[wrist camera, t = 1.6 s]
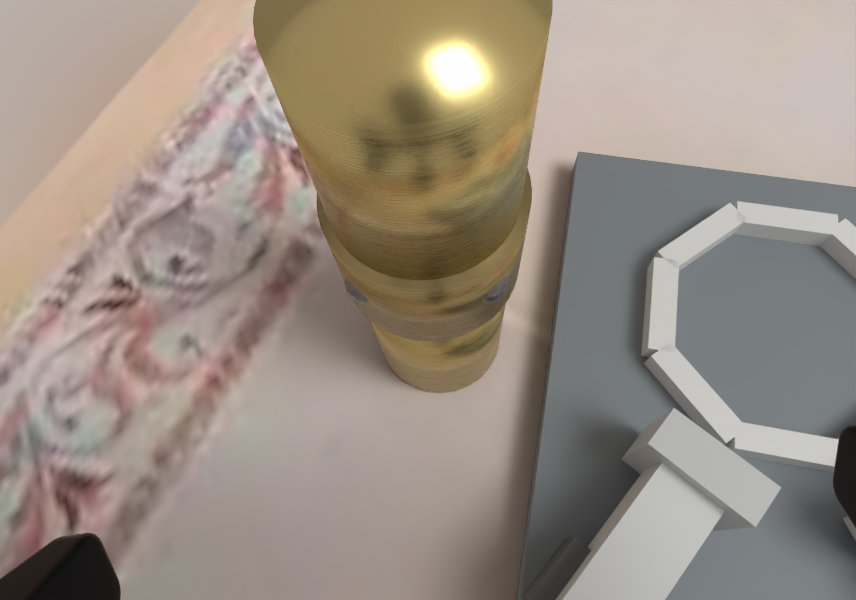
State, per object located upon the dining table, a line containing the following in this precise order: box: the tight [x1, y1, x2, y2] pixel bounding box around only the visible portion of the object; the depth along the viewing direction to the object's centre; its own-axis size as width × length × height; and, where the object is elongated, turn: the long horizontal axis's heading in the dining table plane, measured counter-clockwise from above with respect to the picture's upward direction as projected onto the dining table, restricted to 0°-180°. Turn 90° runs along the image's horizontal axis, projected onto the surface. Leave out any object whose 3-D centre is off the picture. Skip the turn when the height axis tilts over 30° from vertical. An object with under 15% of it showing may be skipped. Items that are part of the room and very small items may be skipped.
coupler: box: [253, 0, 552, 393], centre depth 15 cm, size 5×5×14 cm
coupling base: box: [516, 152, 856, 600], centre depth 17 cm, size 20×14×4 cm
